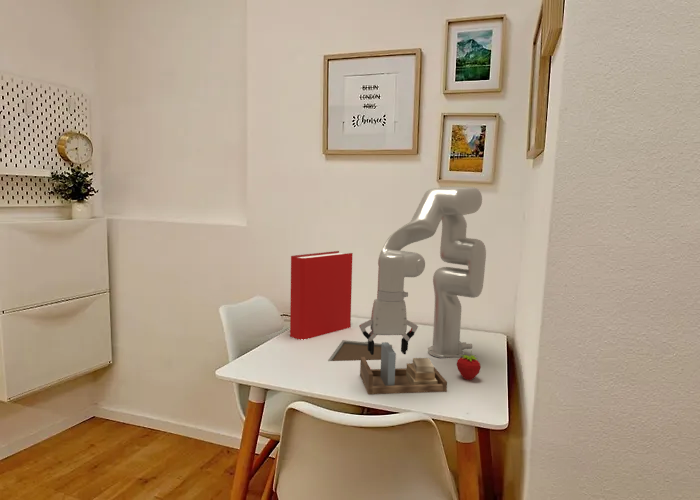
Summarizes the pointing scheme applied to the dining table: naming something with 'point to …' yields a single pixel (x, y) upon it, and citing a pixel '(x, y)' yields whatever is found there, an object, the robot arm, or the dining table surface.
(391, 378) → the grey square slab
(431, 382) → the offcut bottom
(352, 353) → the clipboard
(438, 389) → the tray
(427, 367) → the offcut top
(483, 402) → the dining table surface
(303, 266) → the book
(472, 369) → the strawberry
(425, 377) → the offcut middle
